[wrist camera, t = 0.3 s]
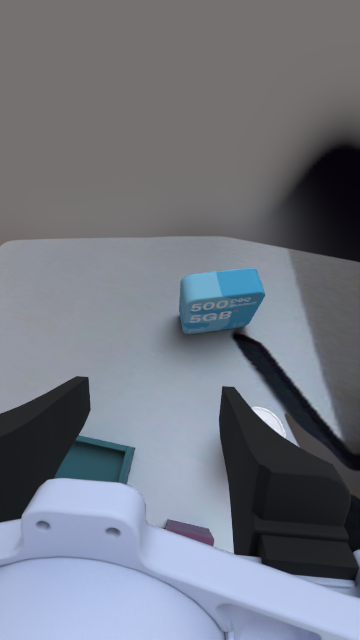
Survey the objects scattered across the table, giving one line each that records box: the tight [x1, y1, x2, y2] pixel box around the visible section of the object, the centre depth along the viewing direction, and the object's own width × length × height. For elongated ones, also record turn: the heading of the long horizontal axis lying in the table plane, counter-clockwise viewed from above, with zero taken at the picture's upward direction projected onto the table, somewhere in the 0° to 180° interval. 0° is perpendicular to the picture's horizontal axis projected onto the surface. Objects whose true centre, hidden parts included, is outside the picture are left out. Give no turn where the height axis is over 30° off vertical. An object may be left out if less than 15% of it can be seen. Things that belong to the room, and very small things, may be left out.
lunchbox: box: [54, 435, 135, 484], centre depth 36 cm, size 13×11×4 cm
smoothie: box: [251, 407, 286, 438], centre depth 35 cm, size 6×6×14 cm
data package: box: [179, 268, 265, 334], centre depth 45 cm, size 12×4×12 cm, turn 99°
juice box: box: [166, 519, 214, 546], centre depth 33 cm, size 4×6×5 cm
